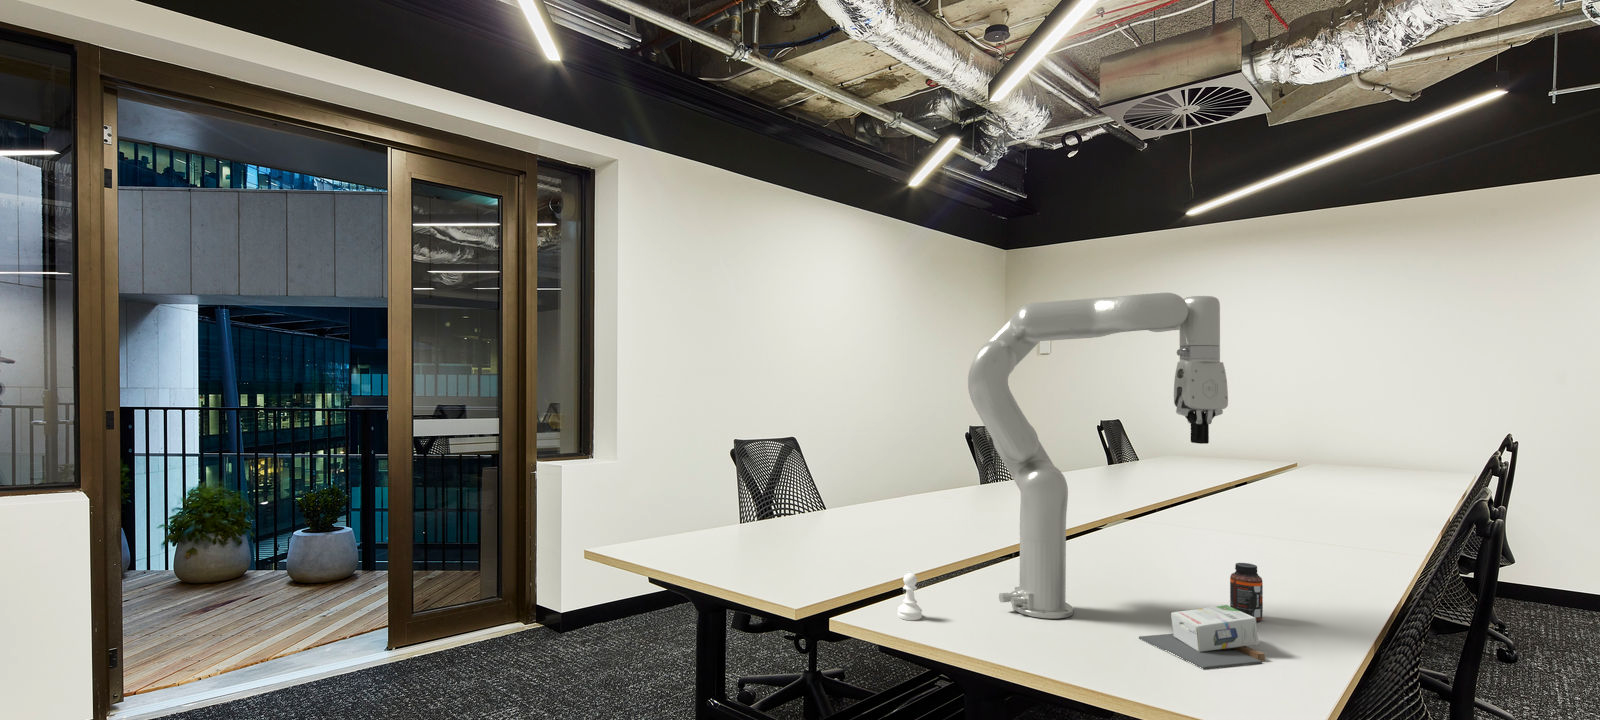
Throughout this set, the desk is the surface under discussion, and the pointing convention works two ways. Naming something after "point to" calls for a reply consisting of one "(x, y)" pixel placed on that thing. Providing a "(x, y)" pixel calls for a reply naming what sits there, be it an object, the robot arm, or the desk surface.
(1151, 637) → the mat
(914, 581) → the chess pawn
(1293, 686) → the desk surface
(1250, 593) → the supplement bottle
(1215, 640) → the ink box
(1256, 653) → the stop strip
